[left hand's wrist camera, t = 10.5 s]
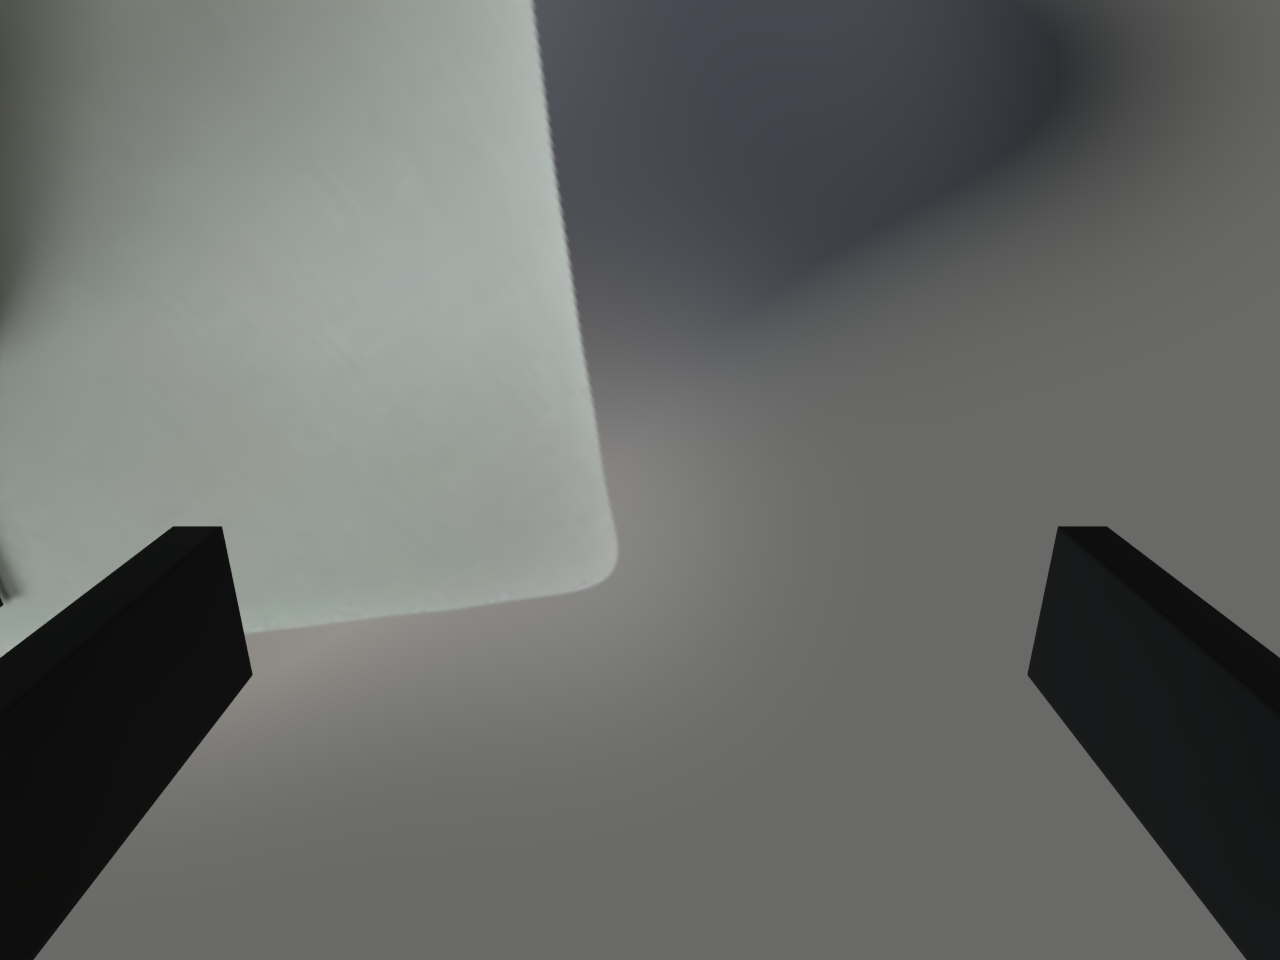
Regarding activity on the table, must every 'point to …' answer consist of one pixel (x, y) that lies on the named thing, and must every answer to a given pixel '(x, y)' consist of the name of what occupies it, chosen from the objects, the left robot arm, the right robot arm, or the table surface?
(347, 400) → the table surface
